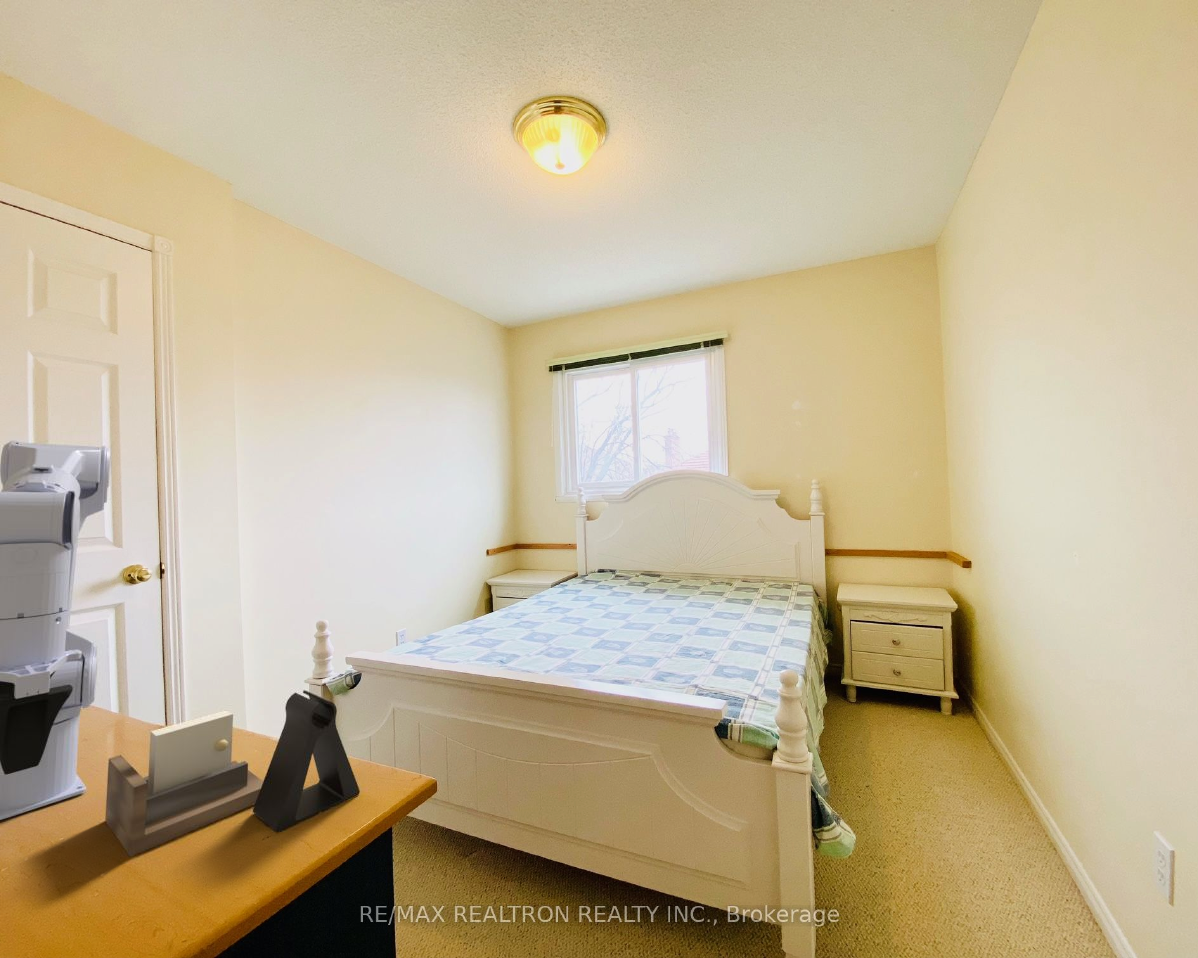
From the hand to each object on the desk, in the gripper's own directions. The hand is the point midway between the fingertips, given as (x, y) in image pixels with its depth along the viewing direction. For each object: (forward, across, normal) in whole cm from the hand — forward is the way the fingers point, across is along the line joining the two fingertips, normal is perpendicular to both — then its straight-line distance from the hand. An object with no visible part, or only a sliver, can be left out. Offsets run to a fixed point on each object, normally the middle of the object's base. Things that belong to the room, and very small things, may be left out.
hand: (15, 757), depth 48 cm
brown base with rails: (+10, -3, -13) cm, 17 cm away
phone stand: (+10, -13, -21) cm, 27 cm away
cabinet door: (+8, -3, -13) cm, 16 cm away
